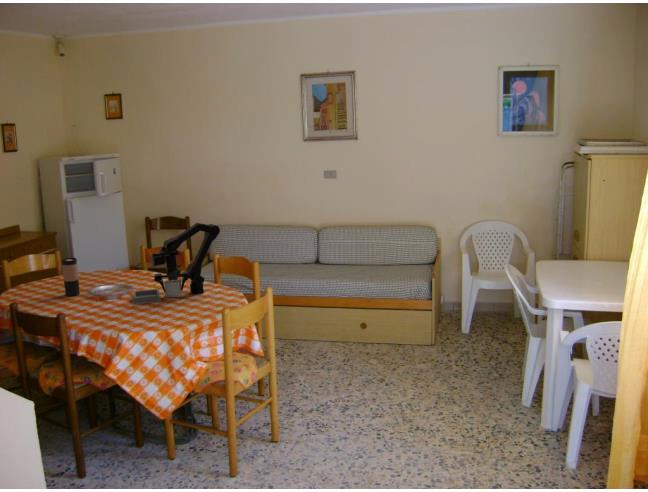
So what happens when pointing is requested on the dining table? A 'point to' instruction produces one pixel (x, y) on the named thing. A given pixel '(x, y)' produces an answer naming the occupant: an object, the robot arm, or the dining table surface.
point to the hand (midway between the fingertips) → (173, 291)
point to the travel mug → (70, 276)
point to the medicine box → (173, 288)
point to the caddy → (146, 296)
